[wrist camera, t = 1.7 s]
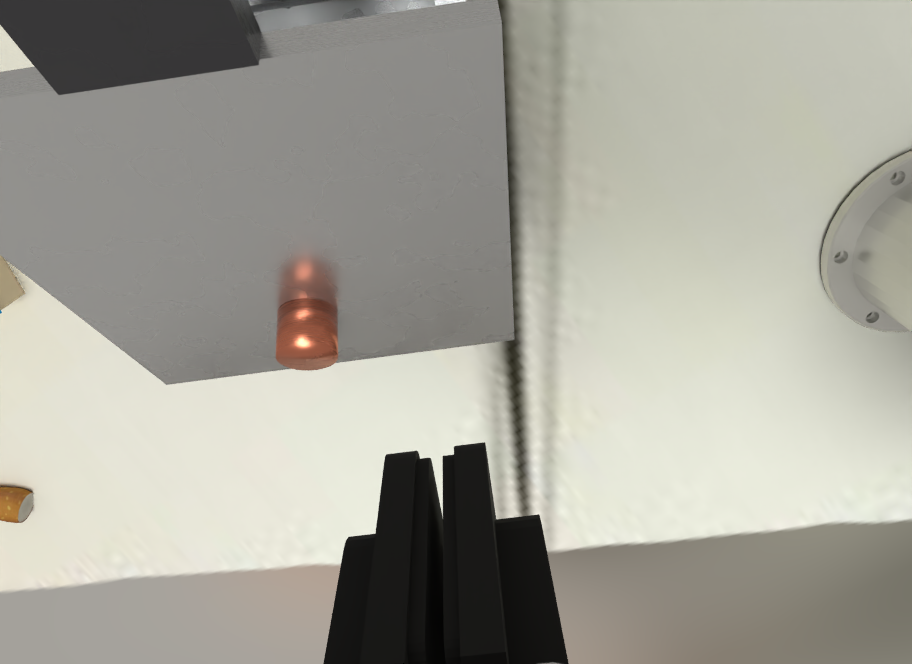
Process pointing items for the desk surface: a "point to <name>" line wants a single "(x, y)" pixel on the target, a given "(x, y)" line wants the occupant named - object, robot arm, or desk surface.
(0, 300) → the book
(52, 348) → the desk surface
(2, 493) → the orange and grey rod
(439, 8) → the cooker lid
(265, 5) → the grey open box
